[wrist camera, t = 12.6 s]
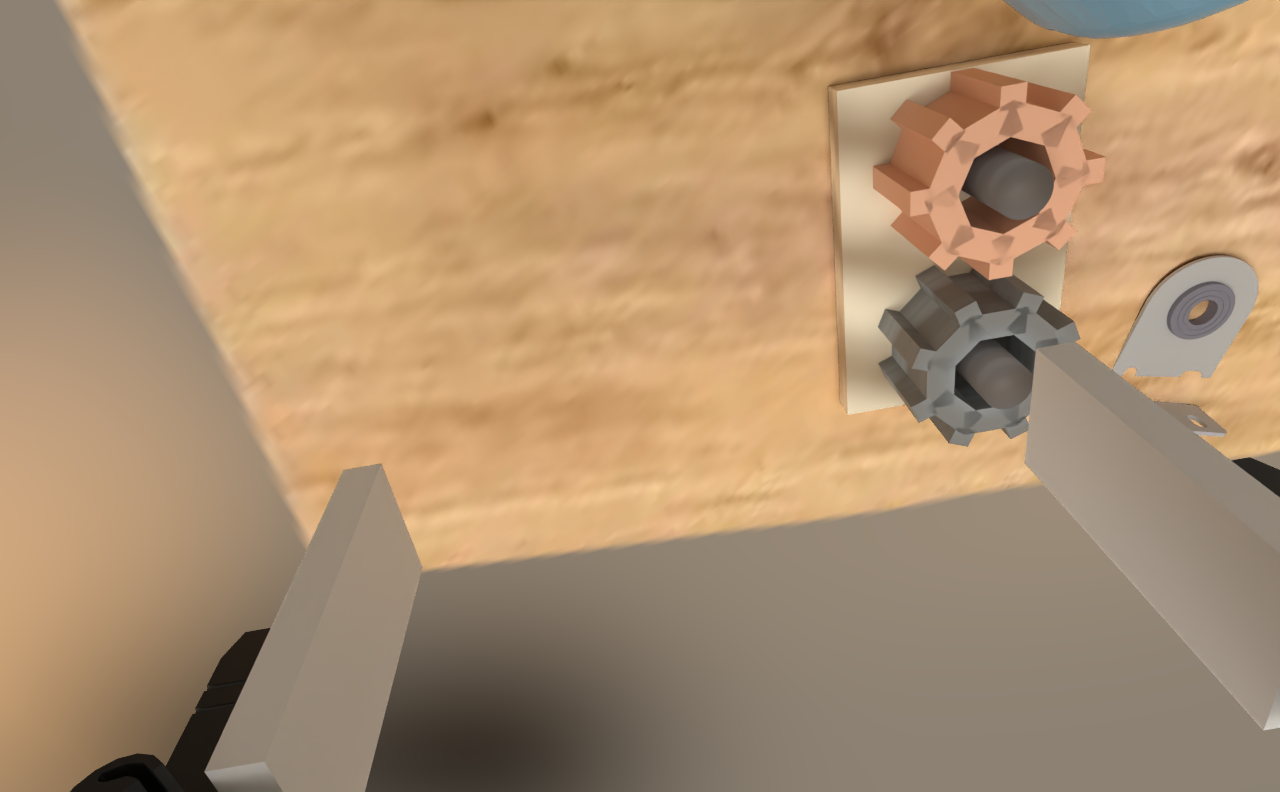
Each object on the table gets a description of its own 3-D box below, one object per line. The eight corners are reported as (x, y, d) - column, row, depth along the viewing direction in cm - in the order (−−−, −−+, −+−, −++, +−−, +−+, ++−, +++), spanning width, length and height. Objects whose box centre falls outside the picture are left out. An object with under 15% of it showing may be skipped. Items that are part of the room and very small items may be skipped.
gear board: (827, 86, 38) (884, 114, 31) (1072, 42, 38) (1185, 60, 31) (840, 401, 47) (886, 479, 40) (1038, 367, 46) (1120, 438, 40)
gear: (848, 134, 38) (883, 157, 33) (1011, 34, 36) (1072, 43, 32) (912, 272, 41) (951, 309, 37) (1063, 187, 40) (1123, 214, 35)
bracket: (1267, 256, 44) (1318, 277, 41) (1187, 408, 49) (1227, 437, 46) (1163, 245, 44) (1207, 267, 41) (1092, 401, 48) (1126, 430, 45)
